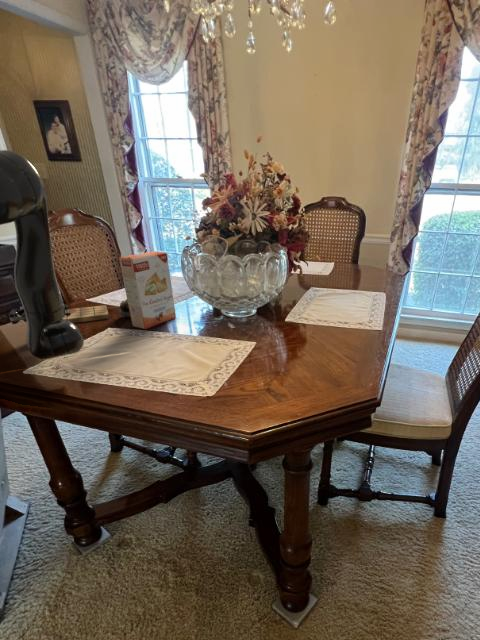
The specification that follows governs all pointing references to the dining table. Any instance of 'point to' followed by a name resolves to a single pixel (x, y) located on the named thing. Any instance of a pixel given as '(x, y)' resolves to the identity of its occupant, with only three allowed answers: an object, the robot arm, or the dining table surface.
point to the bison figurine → (124, 309)
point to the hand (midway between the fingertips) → (36, 306)
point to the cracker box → (148, 288)
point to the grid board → (87, 314)
